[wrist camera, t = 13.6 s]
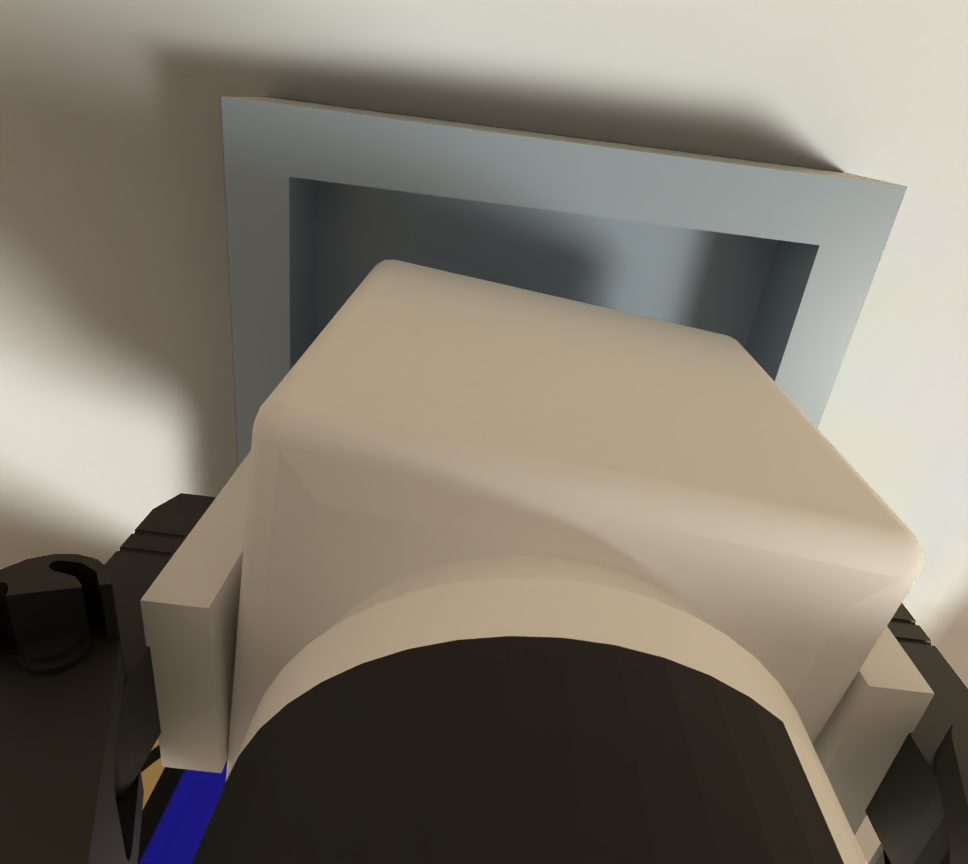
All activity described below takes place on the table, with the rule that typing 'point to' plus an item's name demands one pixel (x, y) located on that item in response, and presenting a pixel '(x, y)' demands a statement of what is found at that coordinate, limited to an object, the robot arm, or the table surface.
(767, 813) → the medicine bottle
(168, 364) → the table surface
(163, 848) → the puzzle cube
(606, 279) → the tray
